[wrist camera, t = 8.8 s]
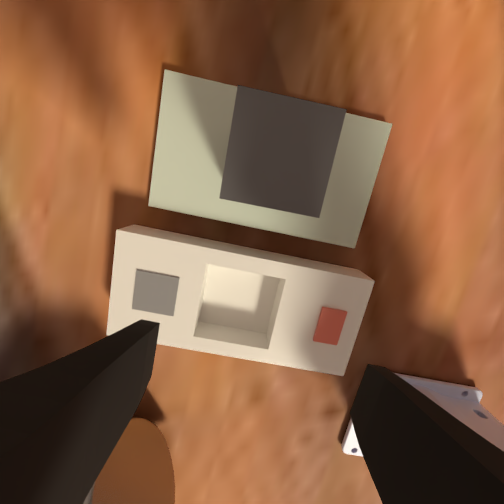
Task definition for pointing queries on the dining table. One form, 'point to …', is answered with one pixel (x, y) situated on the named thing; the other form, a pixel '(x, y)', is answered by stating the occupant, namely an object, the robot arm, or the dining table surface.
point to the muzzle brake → (136, 469)
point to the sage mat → (214, 155)
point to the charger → (280, 151)
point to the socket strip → (237, 299)
